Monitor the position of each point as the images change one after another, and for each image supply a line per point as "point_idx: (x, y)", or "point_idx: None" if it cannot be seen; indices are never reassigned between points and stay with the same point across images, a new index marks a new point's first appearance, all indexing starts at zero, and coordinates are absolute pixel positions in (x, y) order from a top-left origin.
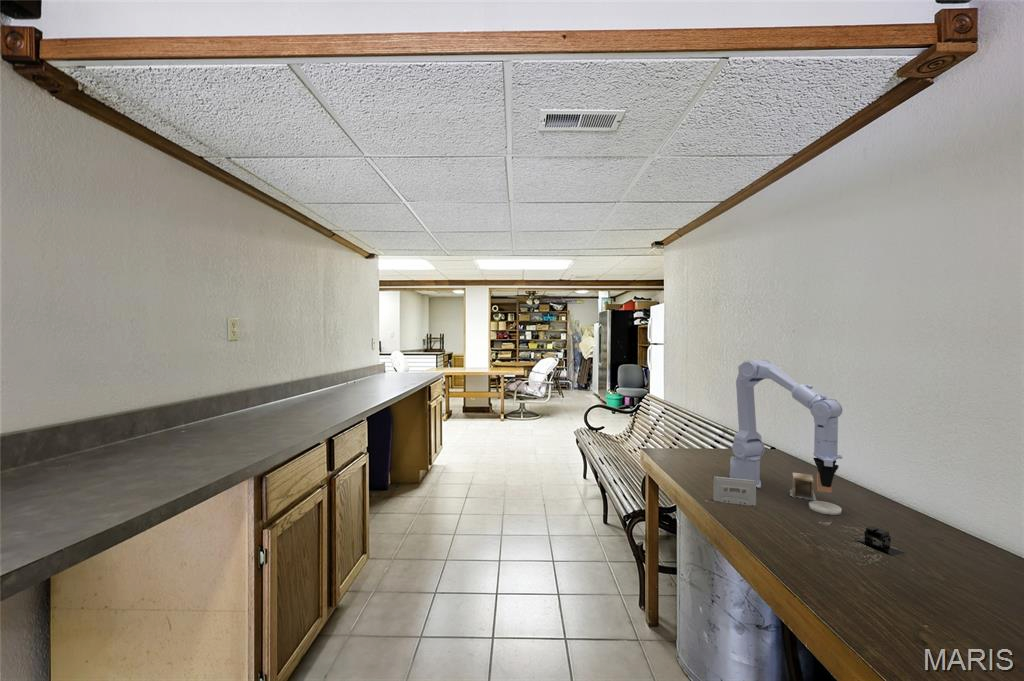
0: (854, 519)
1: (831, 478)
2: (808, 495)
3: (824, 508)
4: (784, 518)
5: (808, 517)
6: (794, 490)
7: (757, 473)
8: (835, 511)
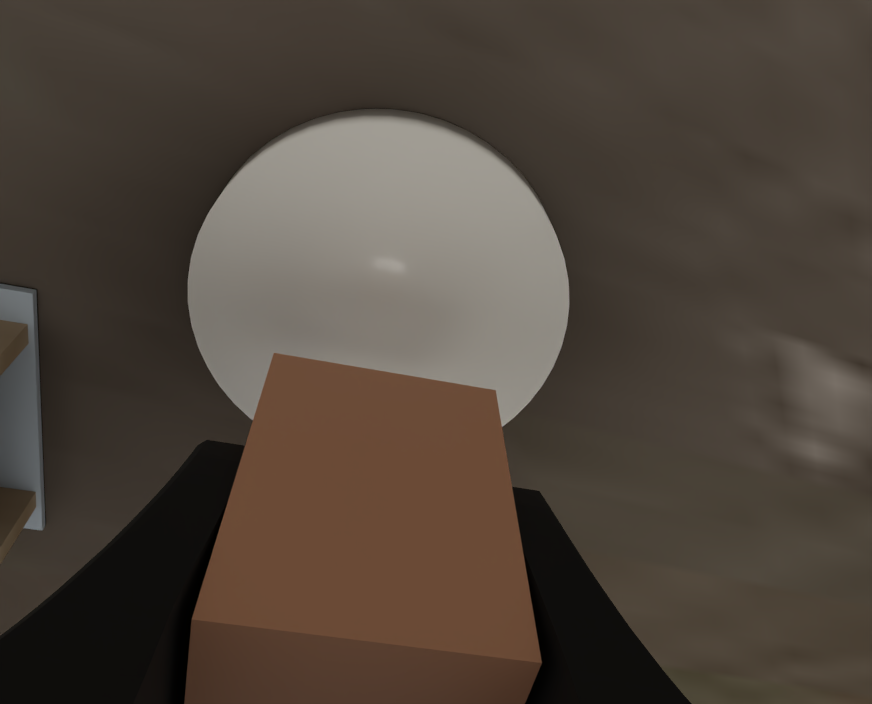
0: (663, 27)
1: (630, 655)
2: None
3: (503, 352)
4: (757, 675)
5: (696, 510)
6: (2, 553)
7: None
8: (556, 243)
